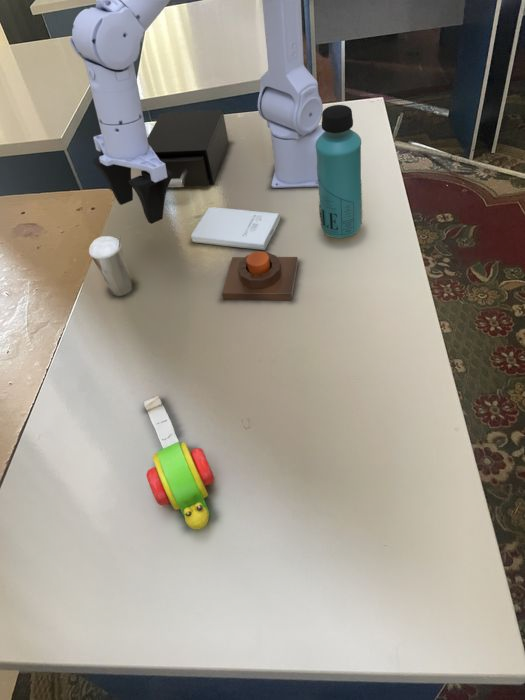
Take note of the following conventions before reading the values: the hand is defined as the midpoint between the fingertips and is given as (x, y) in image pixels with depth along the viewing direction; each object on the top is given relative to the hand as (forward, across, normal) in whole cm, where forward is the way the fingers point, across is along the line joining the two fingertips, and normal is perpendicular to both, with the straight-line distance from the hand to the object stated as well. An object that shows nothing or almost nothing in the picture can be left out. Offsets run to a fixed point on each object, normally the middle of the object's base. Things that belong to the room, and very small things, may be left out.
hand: (140, 211), depth 82 cm
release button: (+6, +16, +8) cm, 19 cm away
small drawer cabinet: (+7, -19, +23) cm, 31 cm away
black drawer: (+7, -16, +19) cm, 26 cm away
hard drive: (+8, +4, +14) cm, 17 cm away
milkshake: (+11, +1, -6) cm, 12 cm away
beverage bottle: (+7, +18, +24) cm, 31 cm away
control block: (+9, +16, +9) cm, 20 cm away
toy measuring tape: (+12, +31, -19) cm, 38 cm away
